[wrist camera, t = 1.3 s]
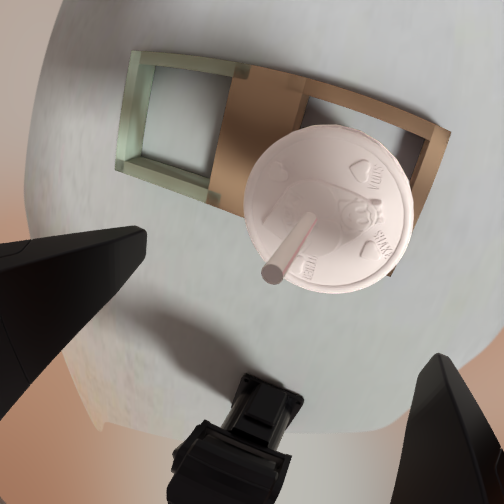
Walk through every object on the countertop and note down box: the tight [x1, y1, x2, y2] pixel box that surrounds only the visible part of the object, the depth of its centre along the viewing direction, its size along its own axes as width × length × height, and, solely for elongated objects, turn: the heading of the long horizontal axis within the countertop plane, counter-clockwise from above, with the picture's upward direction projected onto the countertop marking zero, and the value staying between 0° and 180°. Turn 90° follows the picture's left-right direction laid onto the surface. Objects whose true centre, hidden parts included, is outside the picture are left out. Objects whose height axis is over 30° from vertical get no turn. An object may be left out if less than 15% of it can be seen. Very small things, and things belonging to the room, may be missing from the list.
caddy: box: [115, 51, 451, 277], centre depth 20 cm, size 10×22×2 cm, turn 75°
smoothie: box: [244, 124, 414, 294], centre depth 13 cm, size 6×6×14 cm
